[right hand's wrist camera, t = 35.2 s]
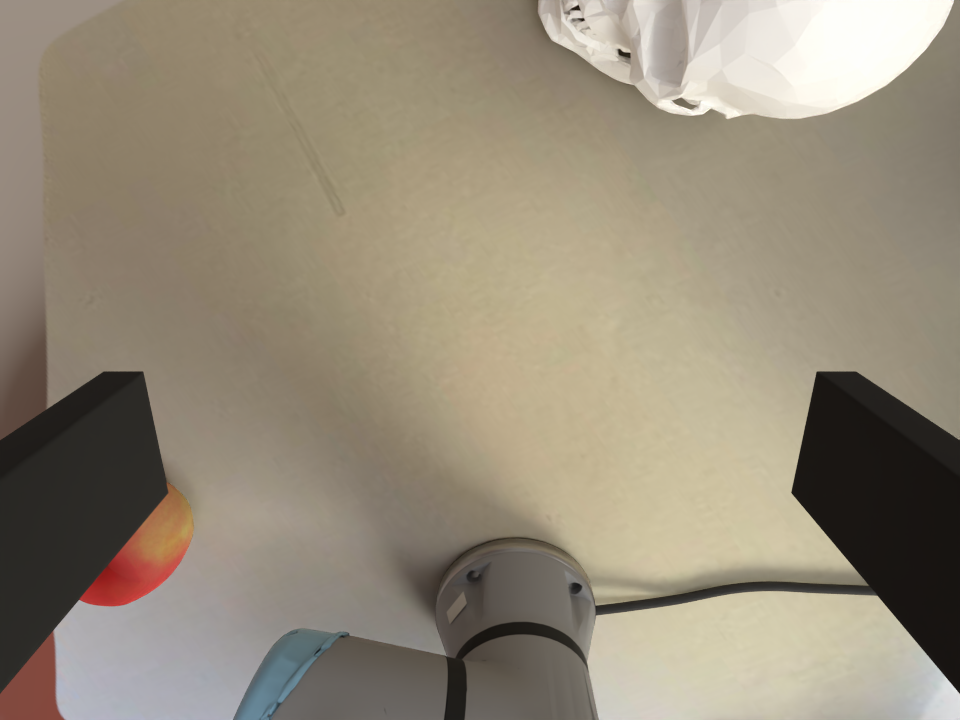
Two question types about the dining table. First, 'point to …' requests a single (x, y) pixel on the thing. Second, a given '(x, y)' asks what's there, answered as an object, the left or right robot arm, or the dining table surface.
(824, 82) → the skull
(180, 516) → the apple
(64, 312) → the dining table surface
